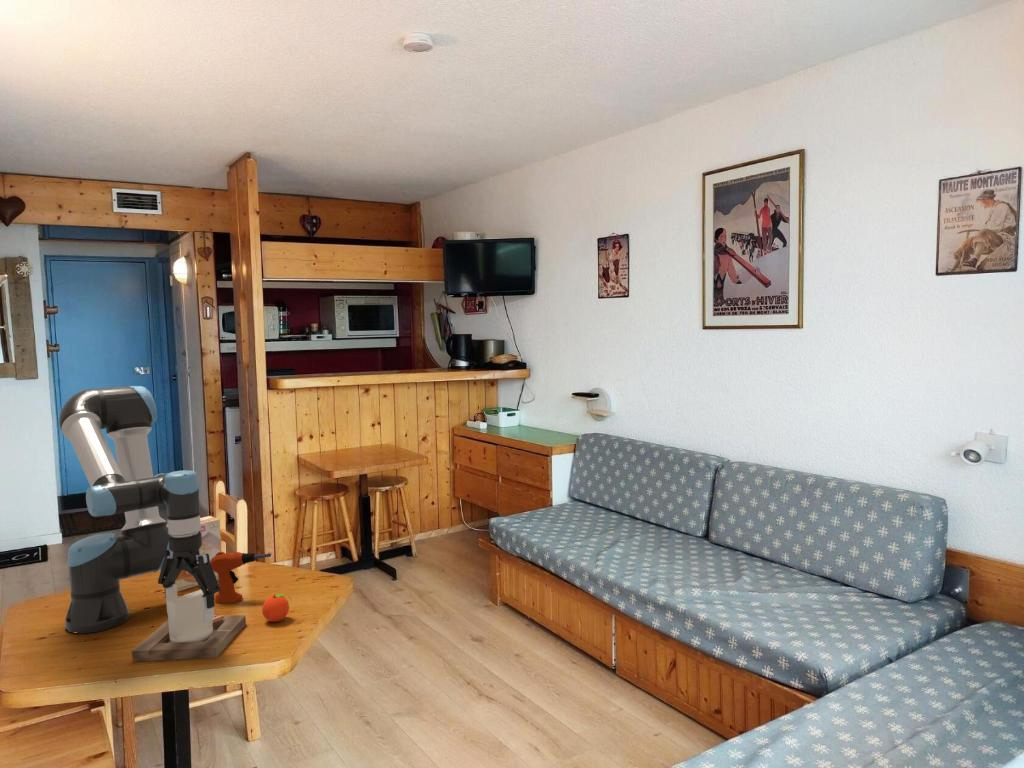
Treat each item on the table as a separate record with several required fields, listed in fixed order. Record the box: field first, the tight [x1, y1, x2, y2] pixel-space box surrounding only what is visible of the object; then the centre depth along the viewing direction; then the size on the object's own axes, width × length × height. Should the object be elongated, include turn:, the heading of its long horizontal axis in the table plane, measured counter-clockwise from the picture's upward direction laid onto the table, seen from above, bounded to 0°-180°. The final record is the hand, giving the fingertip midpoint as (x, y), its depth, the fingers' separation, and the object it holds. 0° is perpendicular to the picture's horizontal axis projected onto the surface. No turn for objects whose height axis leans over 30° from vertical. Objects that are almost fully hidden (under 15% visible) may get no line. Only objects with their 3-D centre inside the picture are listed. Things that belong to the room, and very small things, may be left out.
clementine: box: [261, 593, 291, 623], centre depth 195 cm, size 8×7×7 cm
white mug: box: [166, 589, 225, 643], centre depth 184 cm, size 14×10×11 cm
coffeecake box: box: [167, 515, 222, 593], centre depth 227 cm, size 15×7×20 cm, turn 139°
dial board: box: [131, 614, 247, 662], centre depth 183 cm, size 20×20×3 cm
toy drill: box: [210, 551, 272, 604], centre depth 210 cm, size 5×19×15 cm, turn 86°
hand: (190, 615), depth 182 cm, fingers open, 13 cm apart
